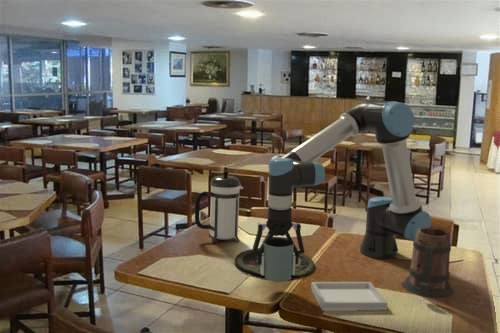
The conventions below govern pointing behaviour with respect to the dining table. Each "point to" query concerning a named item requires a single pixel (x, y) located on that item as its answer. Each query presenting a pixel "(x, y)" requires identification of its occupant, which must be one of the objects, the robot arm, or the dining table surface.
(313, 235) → the dining table surface
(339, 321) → the dining table surface
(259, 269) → the decorative plate
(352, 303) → the tray
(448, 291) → the tankard
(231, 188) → the coffee press
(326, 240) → the dining table surface
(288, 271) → the teal cup
